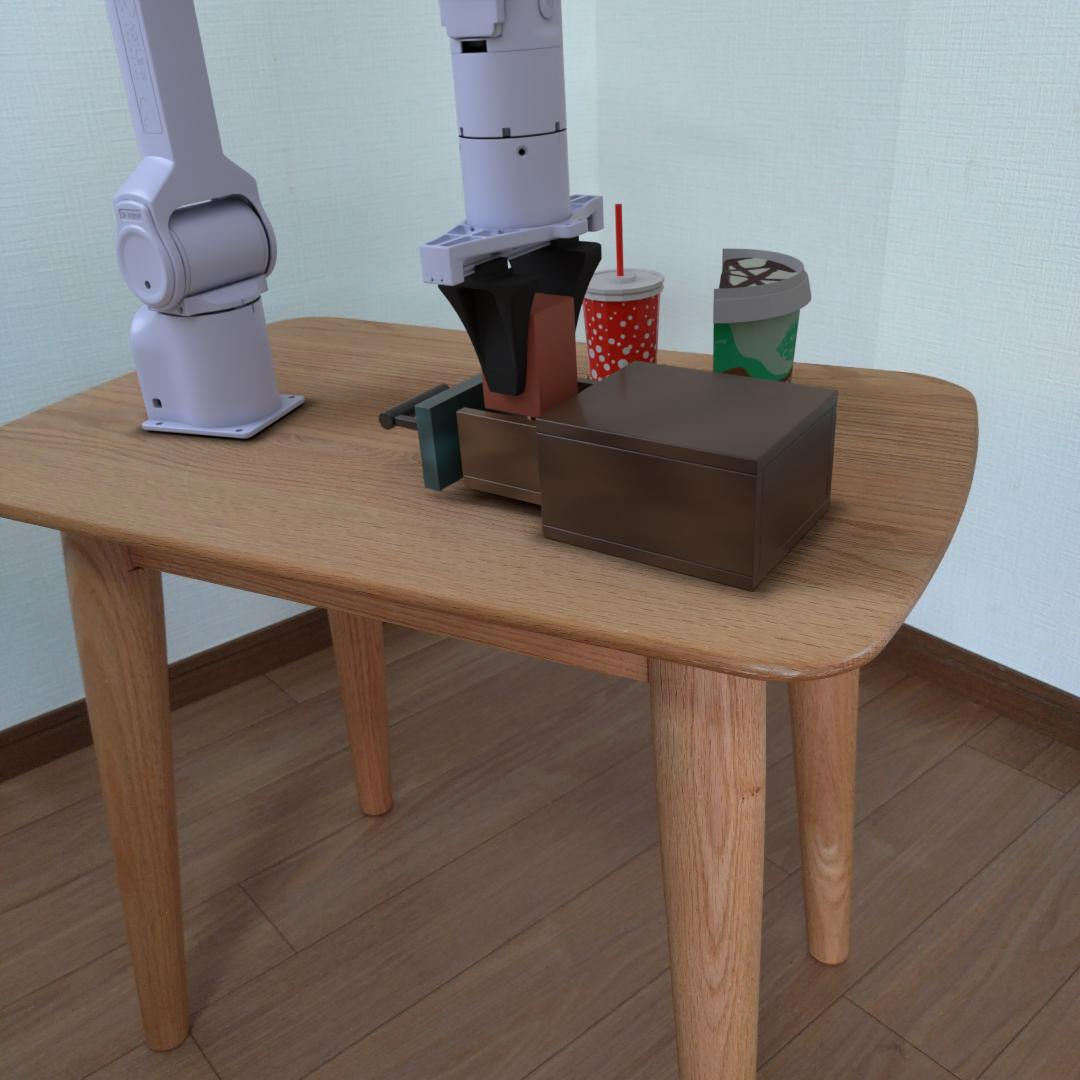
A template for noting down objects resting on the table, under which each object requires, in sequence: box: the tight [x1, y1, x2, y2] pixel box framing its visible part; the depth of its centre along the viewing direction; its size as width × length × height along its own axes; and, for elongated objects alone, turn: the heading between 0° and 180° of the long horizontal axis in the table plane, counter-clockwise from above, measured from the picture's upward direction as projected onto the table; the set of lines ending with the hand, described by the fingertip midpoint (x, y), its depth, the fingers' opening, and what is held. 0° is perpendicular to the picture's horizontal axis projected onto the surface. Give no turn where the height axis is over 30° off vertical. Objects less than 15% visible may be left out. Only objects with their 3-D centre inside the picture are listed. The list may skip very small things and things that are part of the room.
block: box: [480, 293, 578, 418], centre depth 60 cm, size 4×4×6 cm
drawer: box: [378, 372, 599, 506], centre depth 63 cm, size 16×9×5 cm, turn 56°
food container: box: [712, 248, 813, 383], centre depth 71 cm, size 12×6×10 cm, turn 168°
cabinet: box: [535, 361, 839, 592], centre depth 57 cm, size 13×11×7 cm
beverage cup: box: [581, 203, 665, 381], centre depth 73 cm, size 6×6×14 cm
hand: (529, 379), depth 61 cm, fingers closed on block, 4 cm apart
